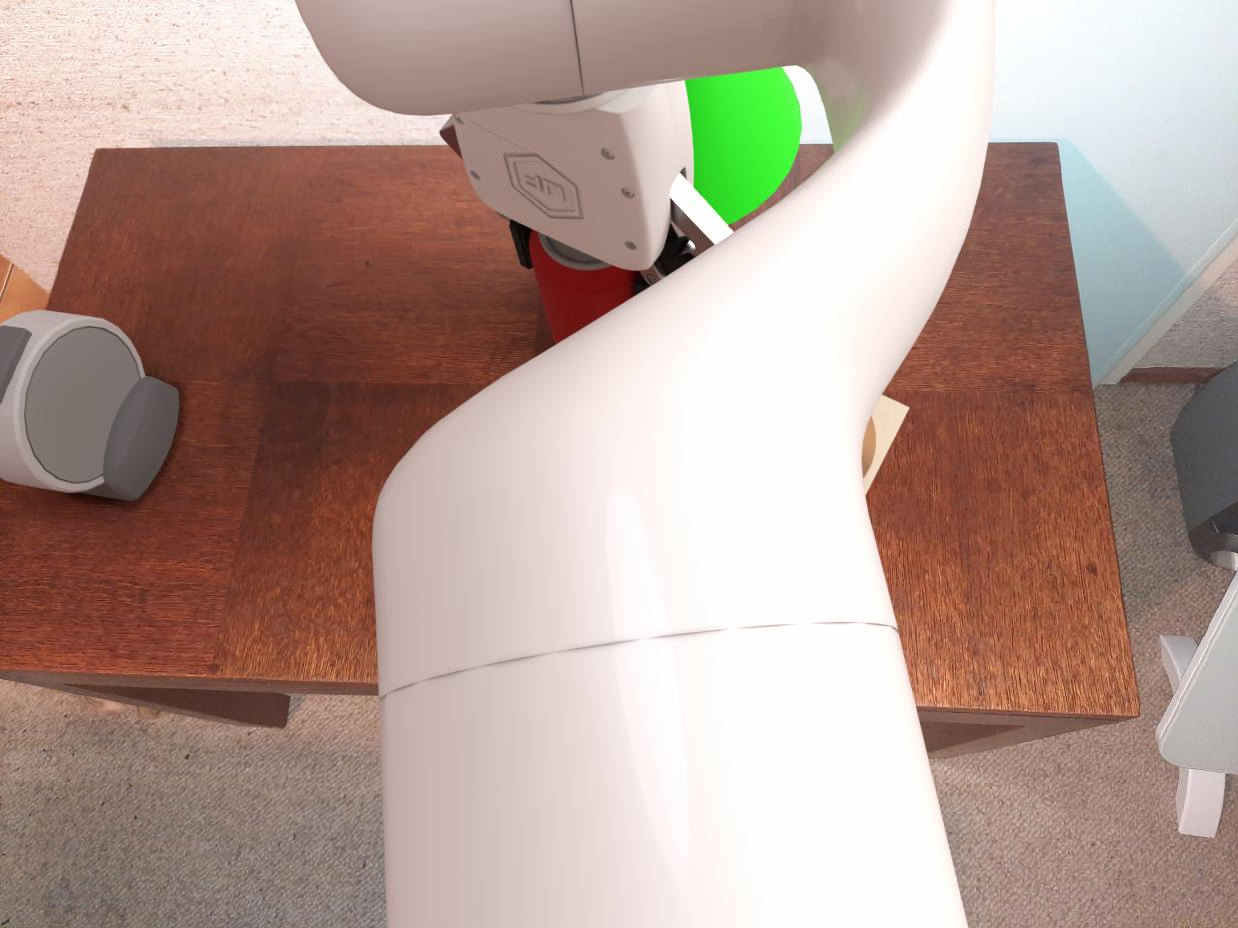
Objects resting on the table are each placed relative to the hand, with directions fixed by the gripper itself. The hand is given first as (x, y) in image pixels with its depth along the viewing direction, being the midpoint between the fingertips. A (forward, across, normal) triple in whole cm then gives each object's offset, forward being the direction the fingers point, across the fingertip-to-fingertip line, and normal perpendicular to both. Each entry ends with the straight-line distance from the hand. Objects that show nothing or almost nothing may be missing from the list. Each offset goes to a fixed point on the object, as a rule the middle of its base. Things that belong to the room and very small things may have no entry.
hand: (597, 274), depth 48 cm
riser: (+37, +13, +1) cm, 39 cm away
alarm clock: (+37, -48, -20) cm, 64 cm away
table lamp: (+37, -6, +18) cm, 41 cm away
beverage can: (+7, 0, 0) cm, 7 cm away
